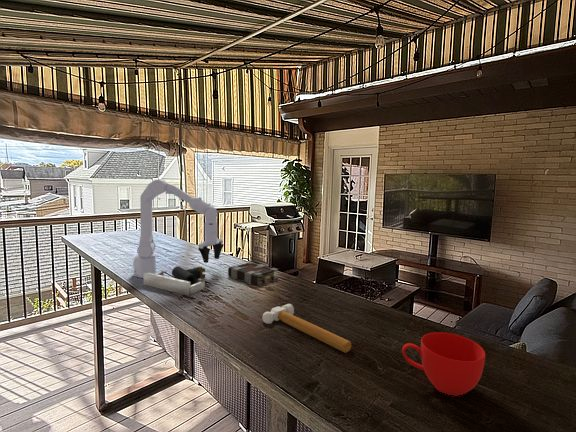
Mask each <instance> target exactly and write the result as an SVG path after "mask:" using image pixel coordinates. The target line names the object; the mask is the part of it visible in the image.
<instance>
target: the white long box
mask: <svg viewBox="0 0 576 432" xmlns="http://www.w3.org/2000/svg"><path fill="white" fill-rule="evenodd" d="M164 274H167V270H161V271H159V272H156V274H154V273H149V272H144V273H143V276H144V278H143V285H145V286H149V287H154V288H157V289H161V290H164V291H169V292H173V293H176V294H181V295H183V296H187V297H188V296H190V295H192V294H195V293H197V292H200V291H201V290H204V289H206V281H205V280H204V278H201V279H197V281H198V282H196V283H195V284H194V285H191V286H190V282H188V281H184V280H180V279H177V278H175V277H170V276H167V275H164Z"/></svg>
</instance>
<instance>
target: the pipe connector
mask: <svg viewBox="0 0 576 432" xmlns="http://www.w3.org/2000/svg"><path fill="white" fill-rule="evenodd" d="M205 272H206V268H203V266H197V267H193V268H187V269H184V268H183V267H181V266H175V267H173V268H172V269H171V274H172V276H173V278H175V279H180V280H184V281H188V282H190V286H191V285H194V284H196V283H197V280H198V279H205V278H206V274H205Z"/></svg>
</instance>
